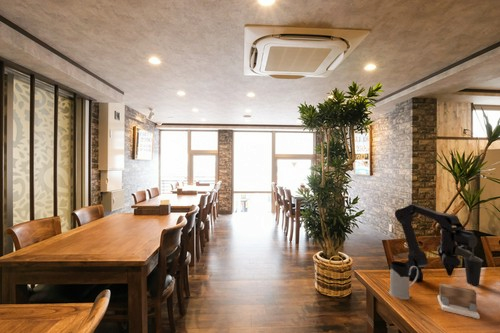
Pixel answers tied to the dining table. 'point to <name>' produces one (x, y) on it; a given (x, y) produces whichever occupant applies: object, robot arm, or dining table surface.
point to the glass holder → (400, 280)
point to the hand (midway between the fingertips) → (447, 271)
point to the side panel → (459, 308)
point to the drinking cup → (473, 269)
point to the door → (457, 295)
